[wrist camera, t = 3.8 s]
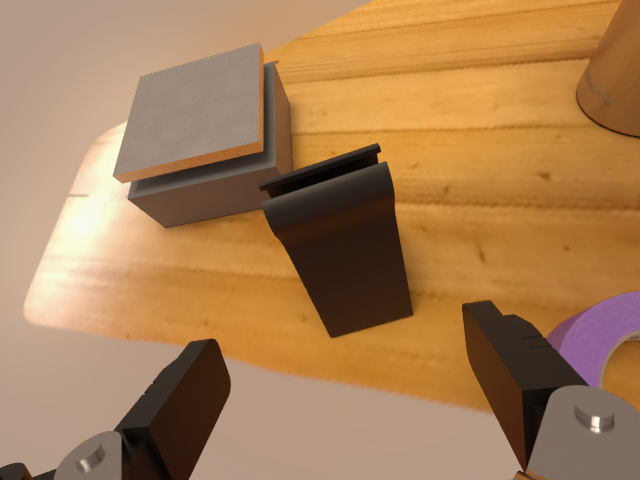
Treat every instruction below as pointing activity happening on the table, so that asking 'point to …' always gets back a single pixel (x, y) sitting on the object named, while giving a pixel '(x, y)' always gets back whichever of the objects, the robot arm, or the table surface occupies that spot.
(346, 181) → the phone stand
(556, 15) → the table surface
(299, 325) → the table surface
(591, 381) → the masking tape
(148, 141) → the pan
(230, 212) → the base
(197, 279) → the table surface
